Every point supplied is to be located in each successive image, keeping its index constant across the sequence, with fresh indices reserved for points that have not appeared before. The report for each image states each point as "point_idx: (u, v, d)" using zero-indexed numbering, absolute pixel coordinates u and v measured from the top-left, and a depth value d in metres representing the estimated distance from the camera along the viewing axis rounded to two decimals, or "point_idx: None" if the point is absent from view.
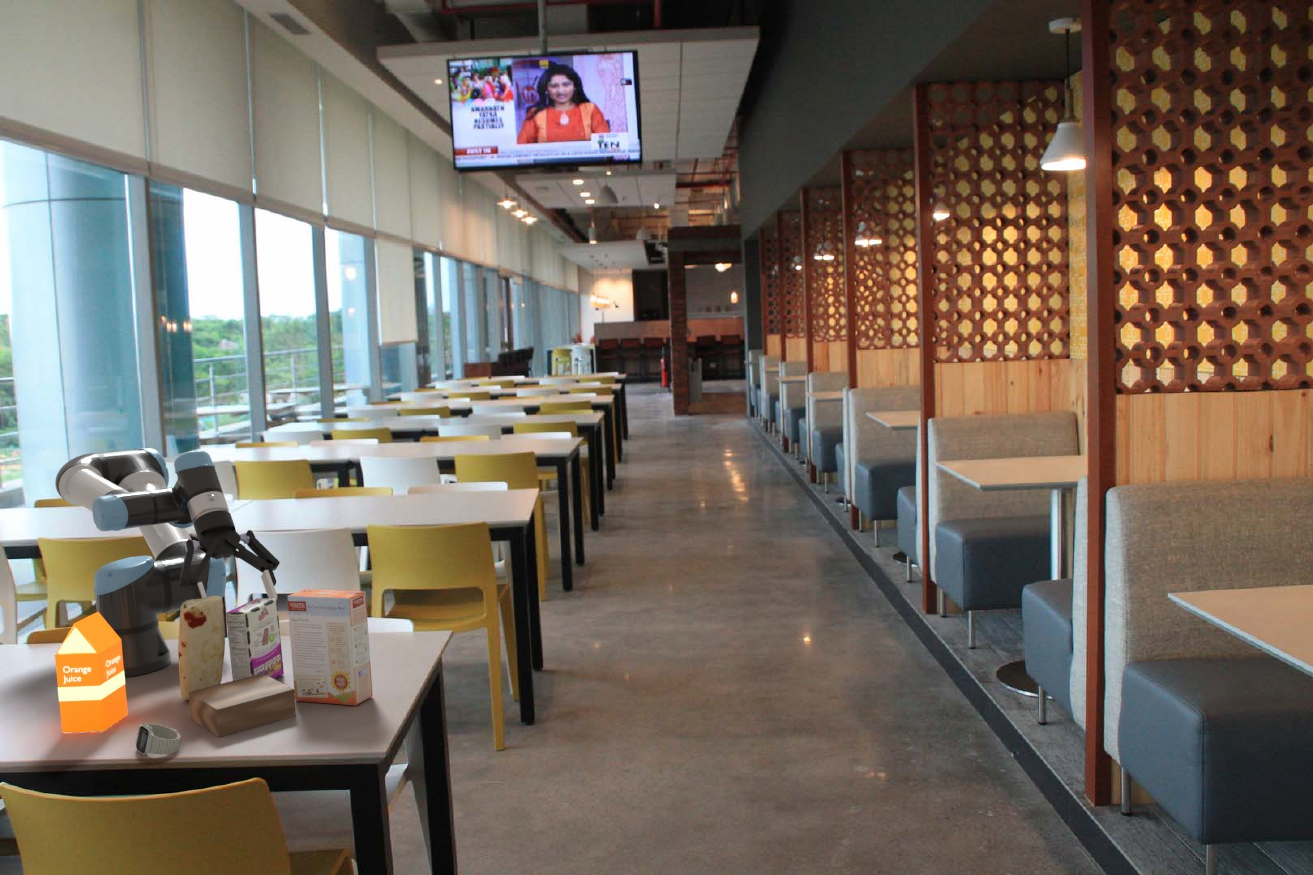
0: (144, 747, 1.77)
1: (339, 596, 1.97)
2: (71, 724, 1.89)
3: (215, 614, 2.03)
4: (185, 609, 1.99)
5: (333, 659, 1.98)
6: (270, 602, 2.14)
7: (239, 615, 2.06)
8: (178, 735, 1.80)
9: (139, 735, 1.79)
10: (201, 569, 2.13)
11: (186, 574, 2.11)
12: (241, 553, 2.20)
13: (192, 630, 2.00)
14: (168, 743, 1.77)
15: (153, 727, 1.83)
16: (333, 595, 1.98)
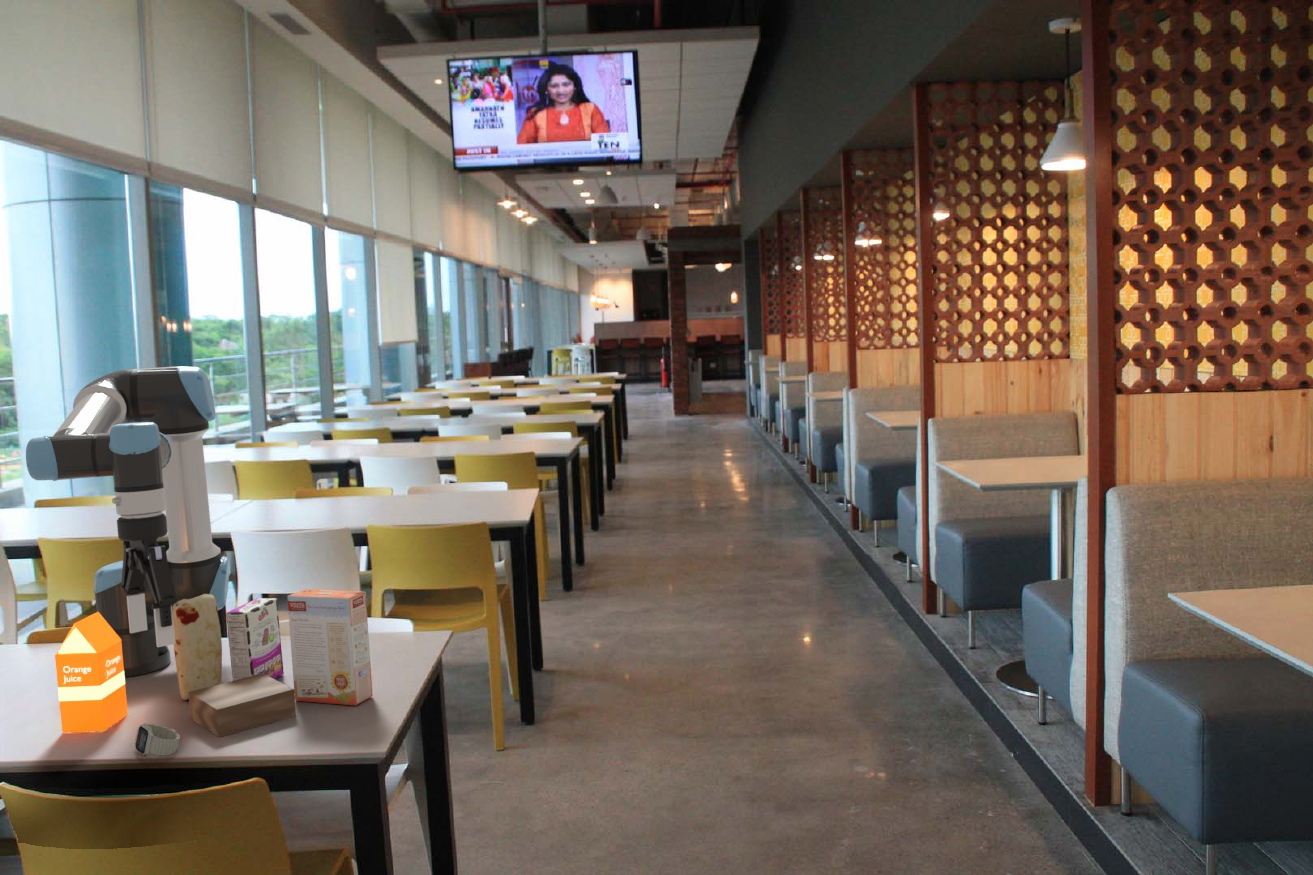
0: (143, 747, 1.77)
1: (339, 596, 1.97)
2: (71, 724, 1.89)
3: (208, 610, 2.05)
4: (177, 606, 2.02)
5: (333, 659, 1.98)
6: (270, 602, 2.14)
7: (239, 615, 2.06)
8: (177, 735, 1.80)
9: (138, 735, 1.79)
10: (128, 581, 1.81)
11: (123, 581, 1.84)
12: None
13: (185, 627, 2.01)
14: (168, 743, 1.77)
15: (152, 727, 1.83)
16: (333, 595, 1.98)
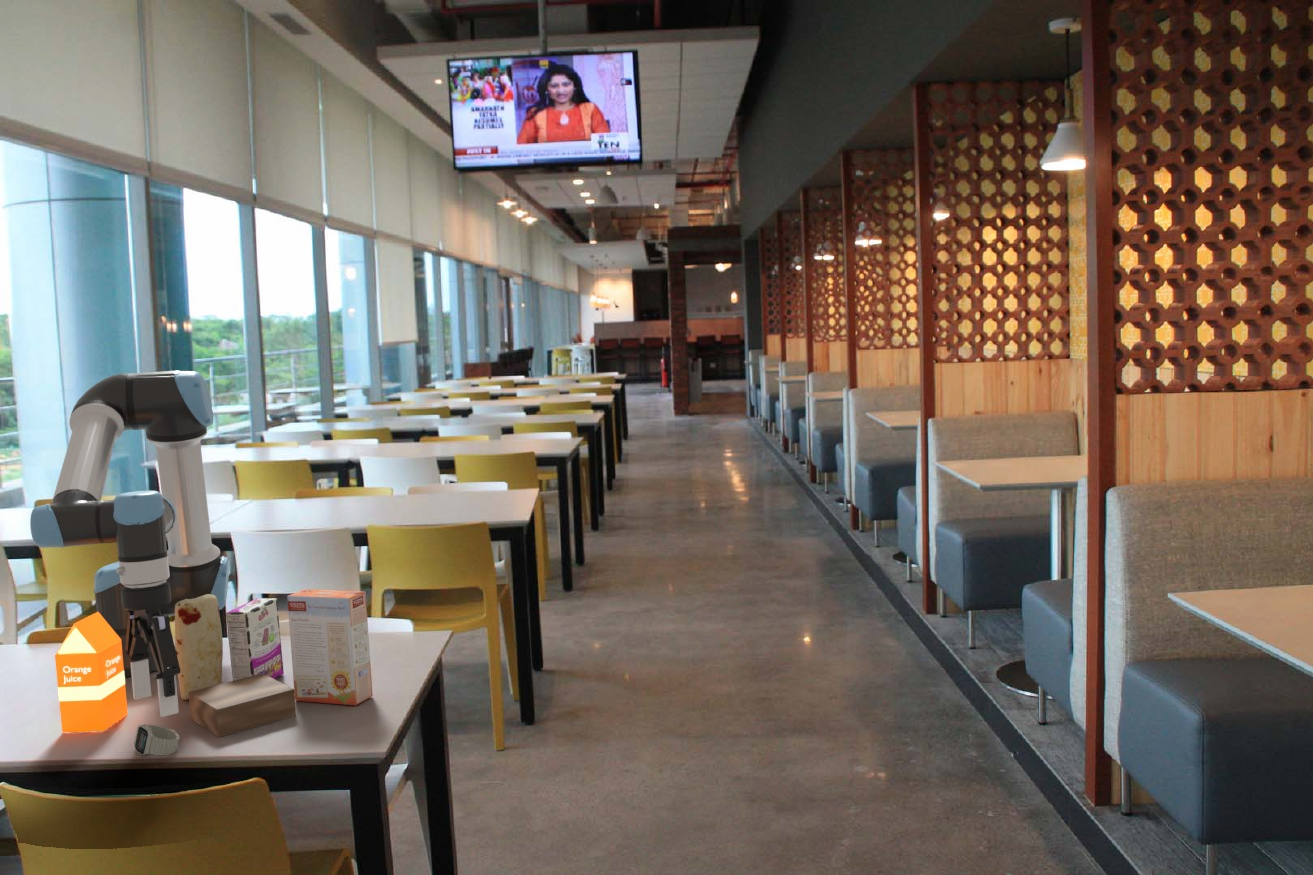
0: (143, 748, 1.77)
1: (339, 596, 1.97)
2: (71, 724, 1.89)
3: (209, 610, 2.05)
4: (179, 606, 2.01)
5: (333, 659, 1.98)
6: (270, 602, 2.14)
7: (239, 615, 2.06)
8: (177, 736, 1.80)
9: (138, 736, 1.79)
10: (132, 648, 1.82)
11: (127, 647, 1.84)
12: None
13: (187, 627, 2.01)
14: (167, 744, 1.77)
15: (151, 728, 1.83)
16: (333, 595, 1.98)
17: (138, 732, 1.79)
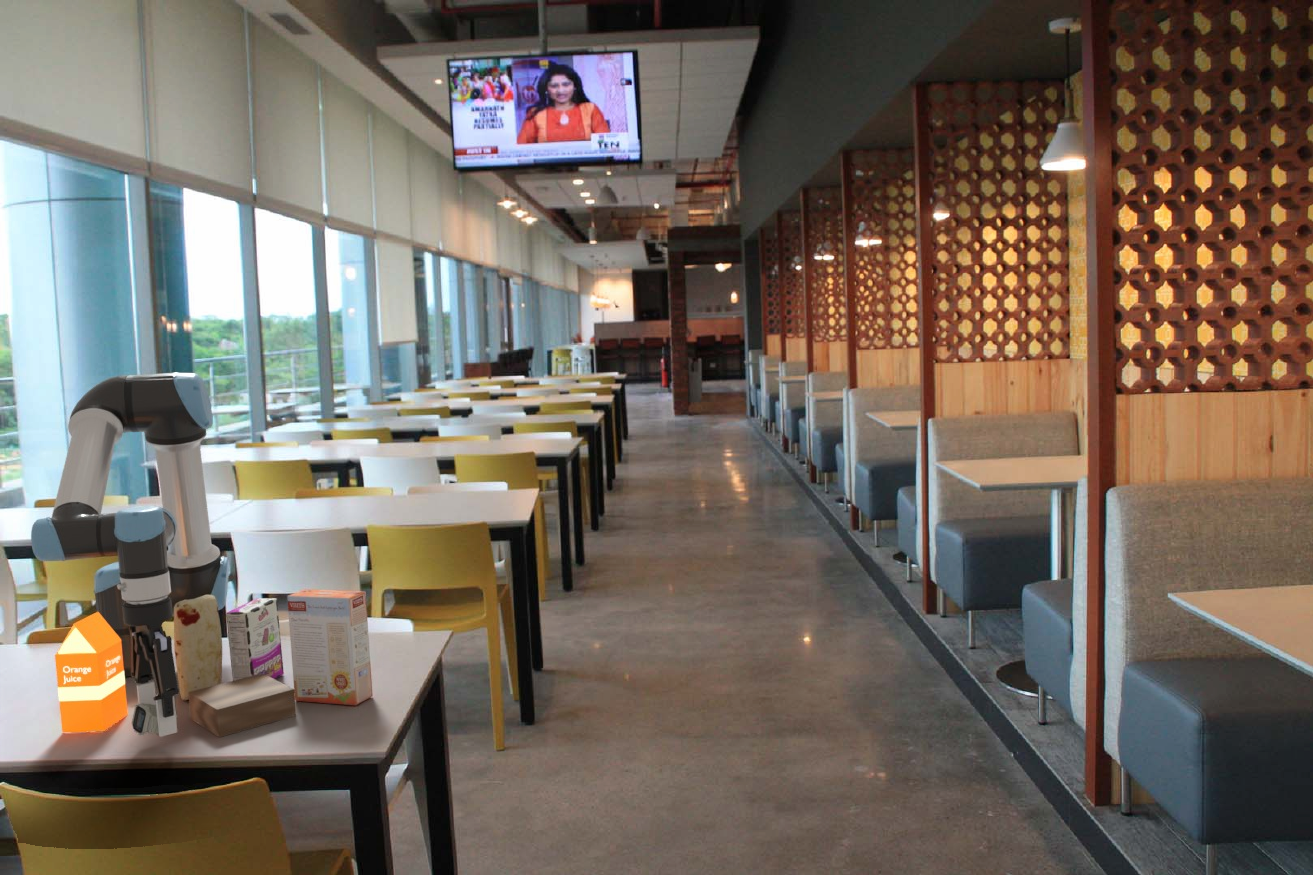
0: (141, 727, 1.77)
1: (339, 596, 1.97)
2: (71, 724, 1.89)
3: (209, 611, 2.05)
4: (178, 607, 2.01)
5: (333, 659, 1.98)
6: (270, 602, 2.14)
7: (239, 615, 2.06)
8: None
9: (135, 715, 1.79)
10: (137, 668, 1.82)
11: (132, 669, 1.84)
12: None
13: (186, 628, 2.01)
14: None
15: (148, 707, 1.83)
16: (333, 595, 1.98)
17: (136, 711, 1.79)
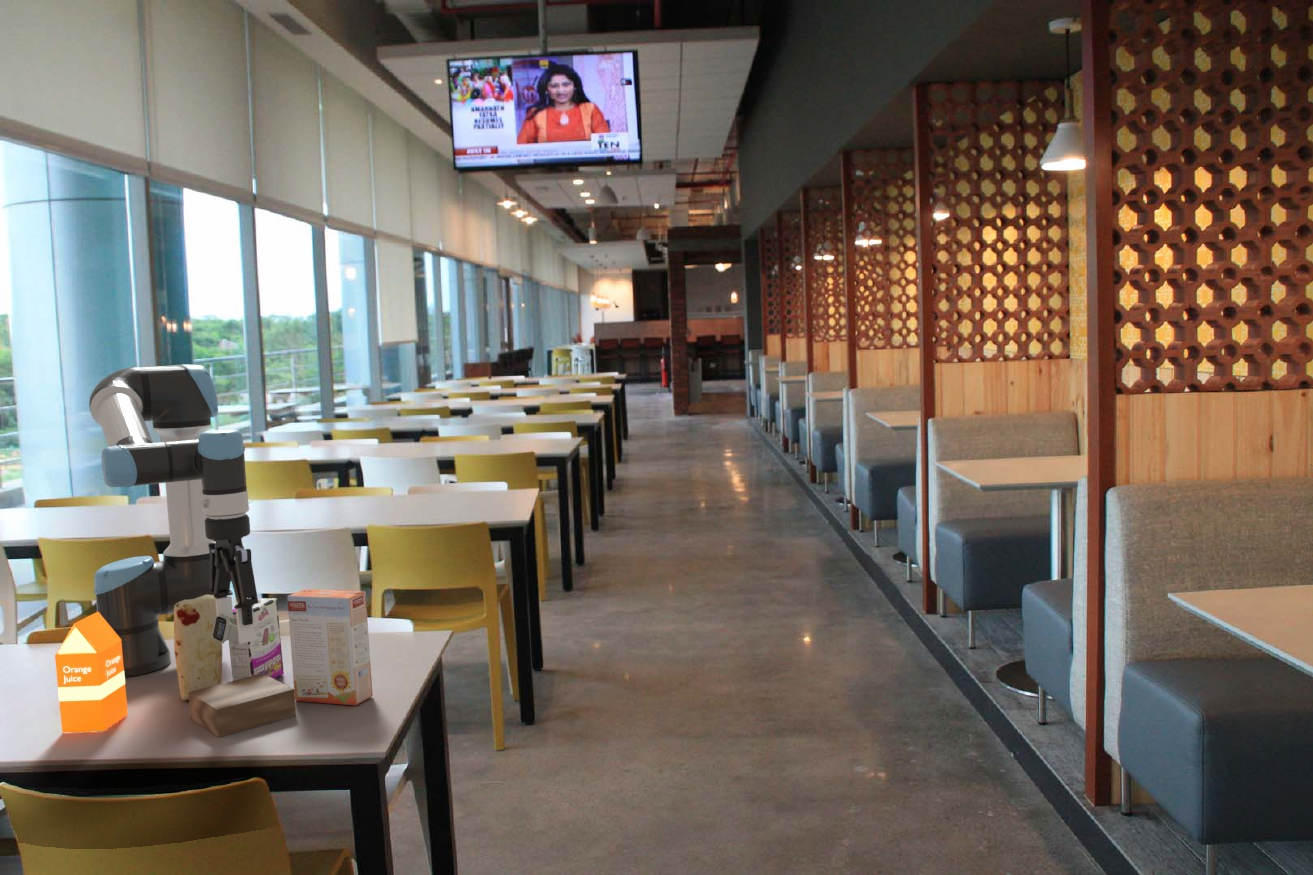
0: (222, 635, 1.89)
1: (339, 596, 1.97)
2: (71, 724, 1.89)
3: (208, 611, 2.05)
4: (178, 607, 2.01)
5: (333, 659, 1.98)
6: (270, 602, 2.14)
7: None
8: None
9: (216, 625, 1.91)
10: (216, 582, 1.94)
11: (211, 584, 1.96)
12: None
13: (186, 628, 2.01)
14: None
15: None
16: (333, 595, 1.98)
17: (216, 621, 1.91)
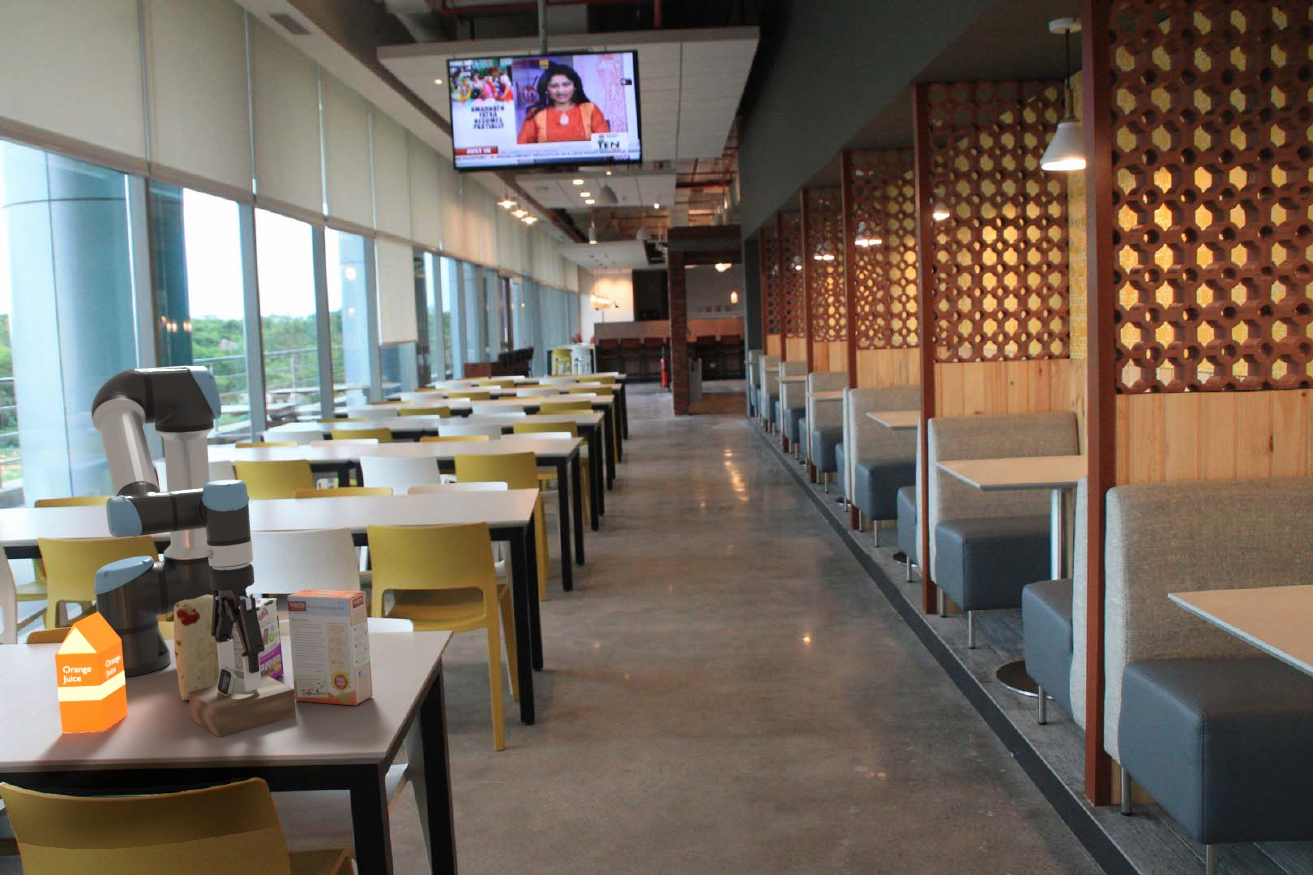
0: (227, 688, 1.90)
1: (339, 596, 1.97)
2: (71, 724, 1.89)
3: (208, 611, 2.05)
4: (178, 607, 2.01)
5: (333, 659, 1.98)
6: (270, 602, 2.14)
7: None
8: None
9: (220, 678, 1.92)
10: (219, 628, 1.95)
11: (213, 628, 1.98)
12: None
13: (186, 628, 2.01)
14: None
15: None
16: (333, 595, 1.98)
17: (221, 674, 1.92)
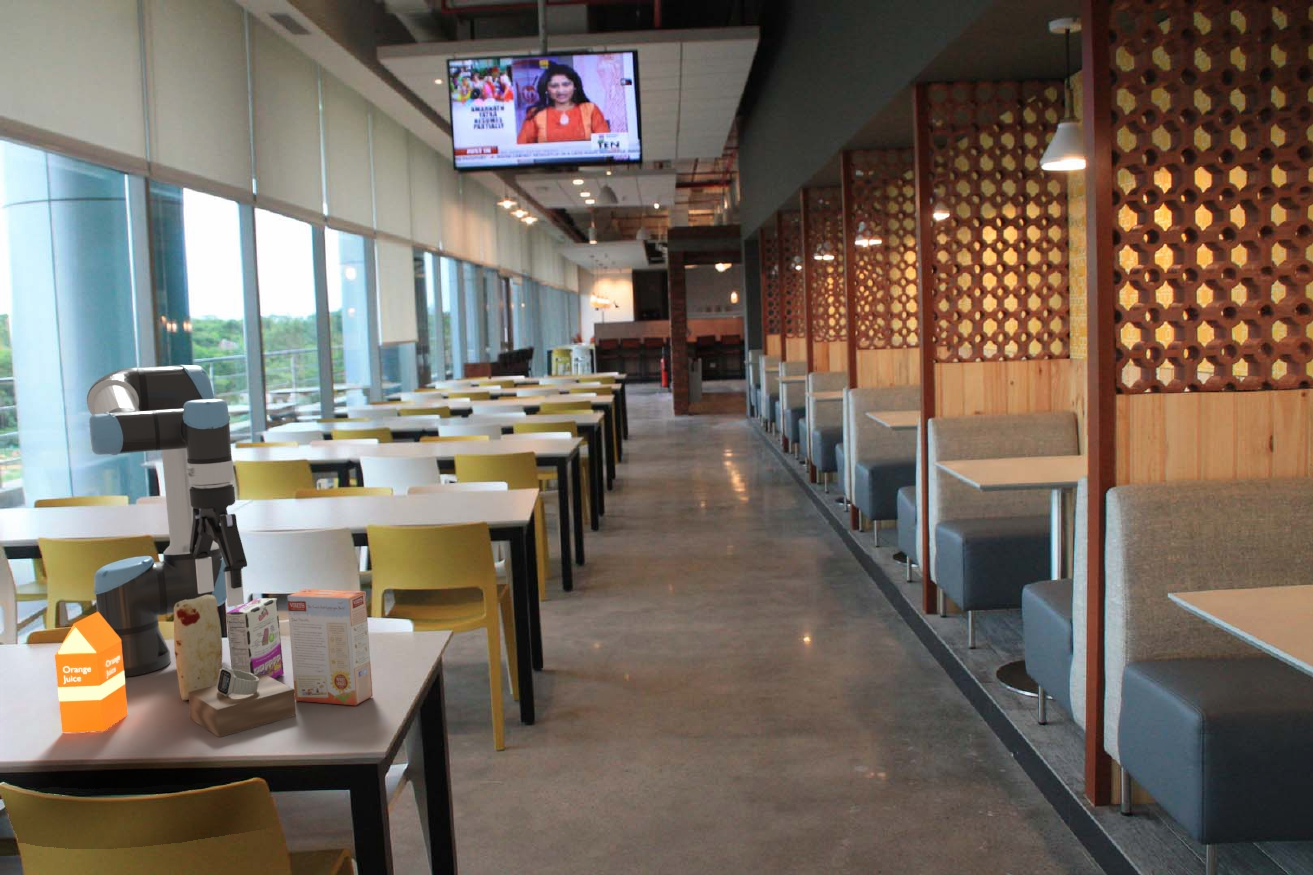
0: (226, 688, 1.90)
1: (339, 596, 1.97)
2: (71, 724, 1.89)
3: (208, 611, 2.05)
4: (178, 607, 2.01)
5: (333, 659, 1.98)
6: (270, 602, 2.14)
7: (239, 615, 2.06)
8: (256, 678, 1.94)
9: (220, 678, 1.92)
10: (197, 545, 1.96)
11: (191, 546, 1.98)
12: None
13: (186, 628, 2.01)
14: (249, 684, 1.90)
15: None
16: (333, 595, 1.98)
17: (220, 674, 1.92)
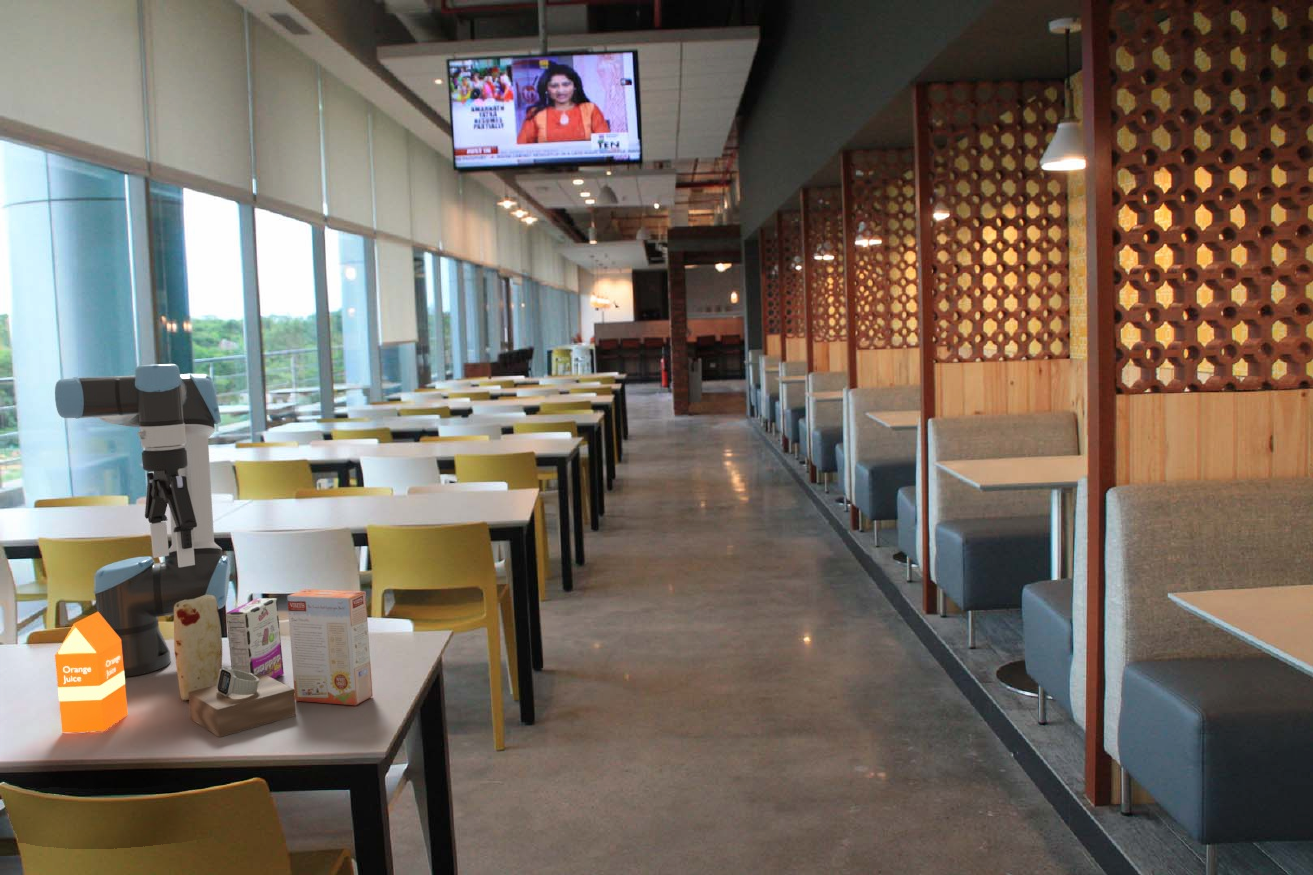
0: (226, 689, 1.90)
1: (339, 596, 1.97)
2: (71, 724, 1.89)
3: (208, 611, 2.05)
4: (178, 607, 2.01)
5: (333, 659, 1.98)
6: (270, 602, 2.14)
7: (239, 615, 2.06)
8: (256, 678, 1.93)
9: (220, 678, 1.92)
10: (152, 510, 1.98)
11: (146, 511, 2.01)
12: None
13: (186, 628, 2.01)
14: (249, 684, 1.90)
15: None
16: (333, 595, 1.98)
17: (220, 674, 1.92)
